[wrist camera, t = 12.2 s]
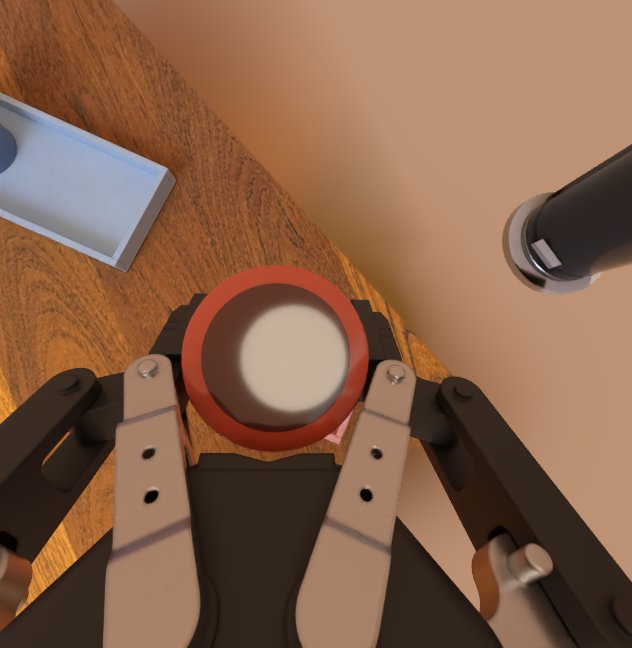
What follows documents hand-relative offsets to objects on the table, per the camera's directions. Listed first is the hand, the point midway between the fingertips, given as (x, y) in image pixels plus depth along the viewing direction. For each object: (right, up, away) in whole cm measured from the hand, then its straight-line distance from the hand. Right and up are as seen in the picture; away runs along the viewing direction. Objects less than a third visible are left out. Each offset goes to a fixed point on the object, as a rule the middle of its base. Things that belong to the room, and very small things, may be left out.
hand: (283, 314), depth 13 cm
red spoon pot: (0, -2, +4) cm, 5 cm away
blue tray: (-24, +13, +16) cm, 31 cm away
